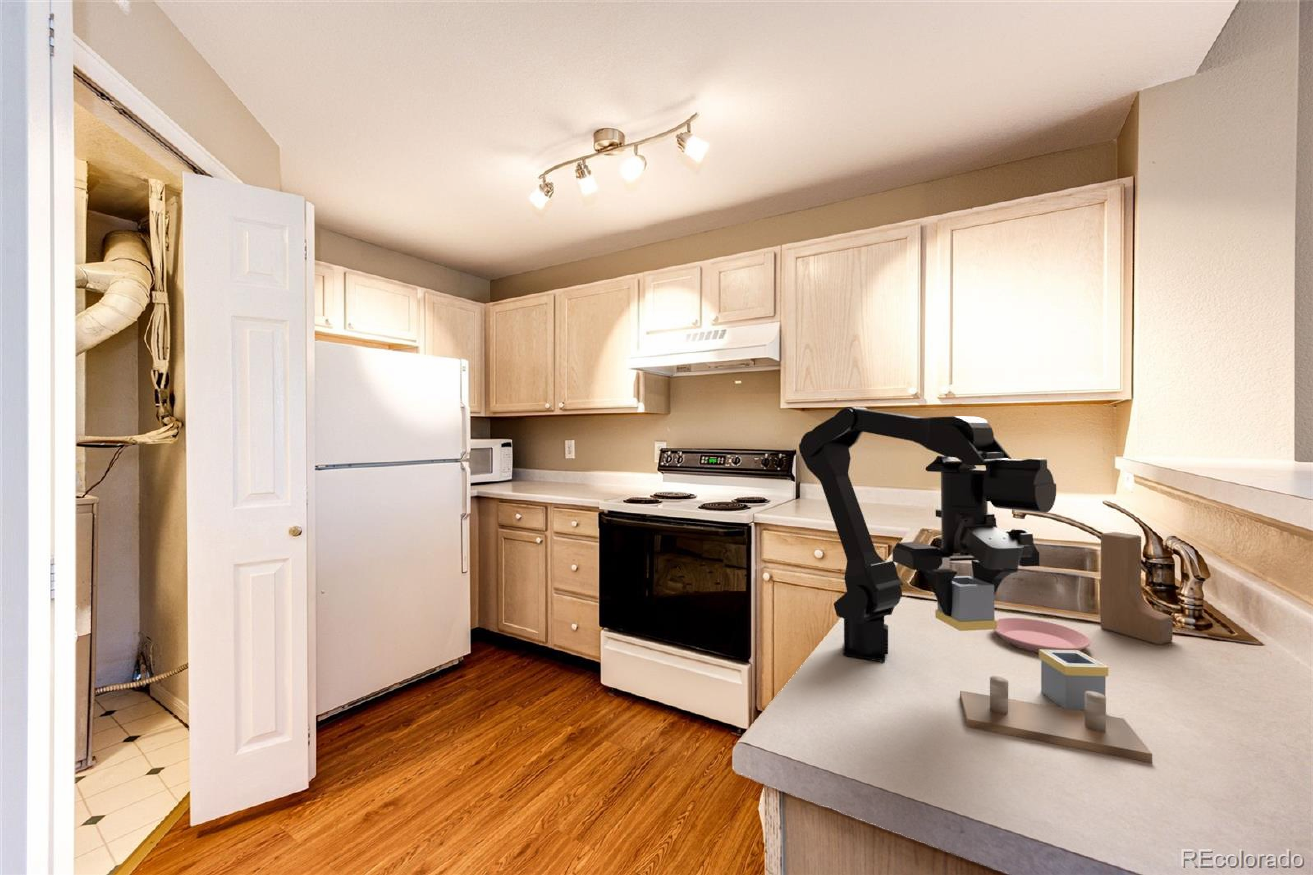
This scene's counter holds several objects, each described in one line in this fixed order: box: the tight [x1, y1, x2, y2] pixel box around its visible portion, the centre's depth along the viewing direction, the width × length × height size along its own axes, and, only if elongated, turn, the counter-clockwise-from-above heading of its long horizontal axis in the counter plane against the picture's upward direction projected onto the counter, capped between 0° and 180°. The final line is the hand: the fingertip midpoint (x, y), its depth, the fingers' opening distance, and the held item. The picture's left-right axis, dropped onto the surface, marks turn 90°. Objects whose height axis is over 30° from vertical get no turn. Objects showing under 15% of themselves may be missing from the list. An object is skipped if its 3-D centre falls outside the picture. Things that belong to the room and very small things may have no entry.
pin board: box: [959, 675, 1153, 764], centre depth 66 cm, size 18×8×5 cm, turn 66°
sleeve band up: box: [1038, 650, 1109, 712], centre depth 73 cm, size 5×5×6 cm
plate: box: [992, 617, 1091, 654], centre depth 93 cm, size 14×14×2 cm
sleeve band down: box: [935, 575, 997, 632], centre depth 75 cm, size 5×5×6 cm
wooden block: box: [1099, 531, 1174, 646], centre depth 96 cm, size 9×4×18 cm, turn 24°
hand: (965, 614), depth 75 cm, fingers closed on sleeve band down, 5 cm apart
